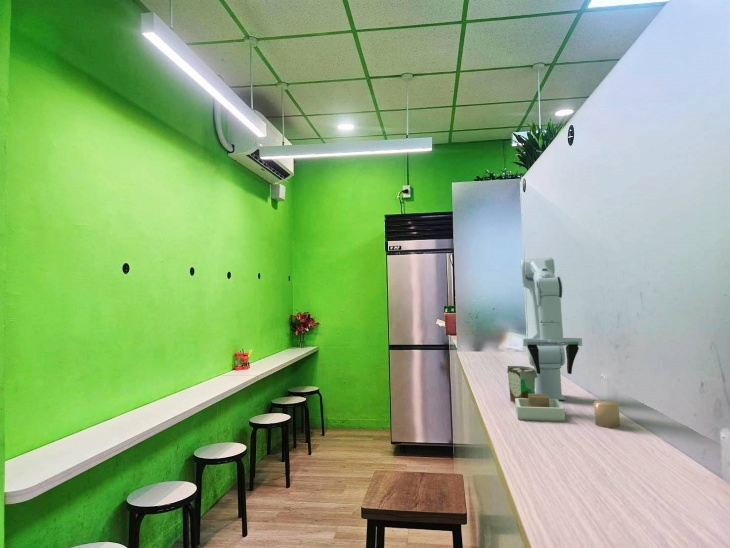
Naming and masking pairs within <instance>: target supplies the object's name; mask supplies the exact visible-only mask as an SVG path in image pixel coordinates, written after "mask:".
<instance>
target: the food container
mask: <svg viewBox="0 0 730 548" xmlns="http://www.w3.org/2000/svg"><path fill="white" fill-rule="evenodd" d="M506 372H507V378H508V386H509V387H508V388H509V399H510V400H509V401H510V402H511V403H513V404H514V405H515V398H528V394H535V392H536V389H535V378H537V373H536V371H535V369H534V367H531V366H523V365H507V371H506Z"/></svg>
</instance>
